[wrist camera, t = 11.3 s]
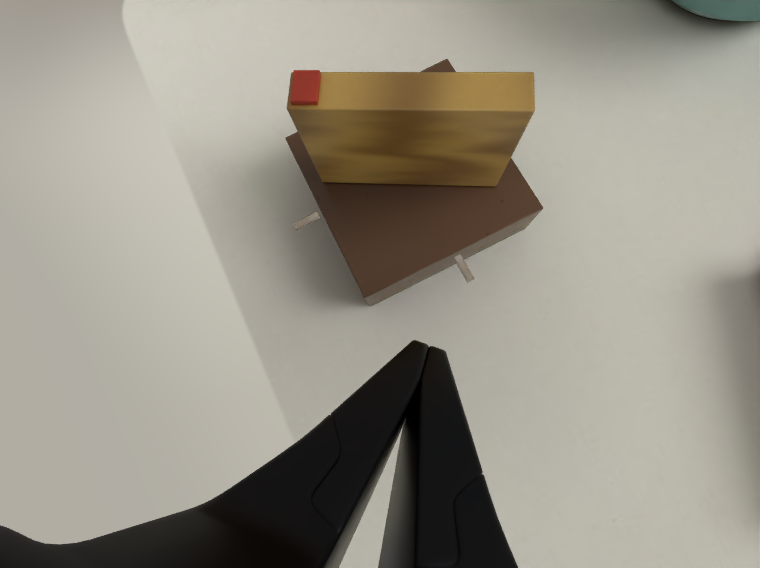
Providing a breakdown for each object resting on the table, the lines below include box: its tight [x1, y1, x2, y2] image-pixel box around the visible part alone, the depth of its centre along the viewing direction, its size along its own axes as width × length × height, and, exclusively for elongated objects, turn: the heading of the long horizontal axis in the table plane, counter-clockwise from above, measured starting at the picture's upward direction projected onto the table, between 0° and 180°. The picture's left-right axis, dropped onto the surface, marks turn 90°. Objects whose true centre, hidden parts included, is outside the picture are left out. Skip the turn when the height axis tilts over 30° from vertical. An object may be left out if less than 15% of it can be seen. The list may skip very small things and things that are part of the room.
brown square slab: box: [286, 59, 543, 306], centre depth 21 cm, size 13×13×3 cm
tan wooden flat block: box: [287, 70, 535, 186], centre depth 17 cm, size 9×2×6 cm, turn 86°
